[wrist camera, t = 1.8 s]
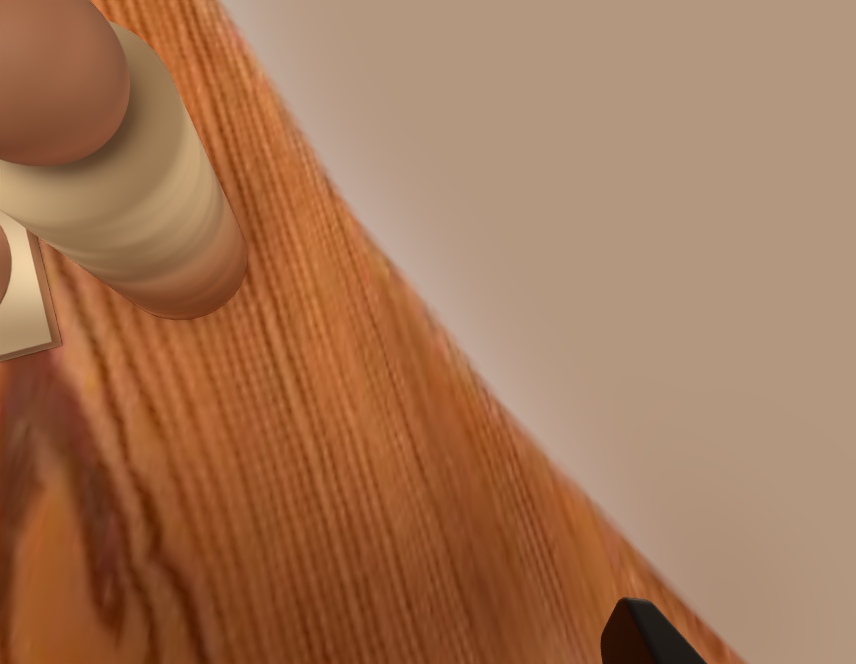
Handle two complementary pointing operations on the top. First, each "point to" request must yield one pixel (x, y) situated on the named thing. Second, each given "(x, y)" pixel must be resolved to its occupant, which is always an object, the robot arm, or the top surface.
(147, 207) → the terracotta ball tube
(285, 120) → the top surface
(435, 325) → the top surface
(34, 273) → the board
